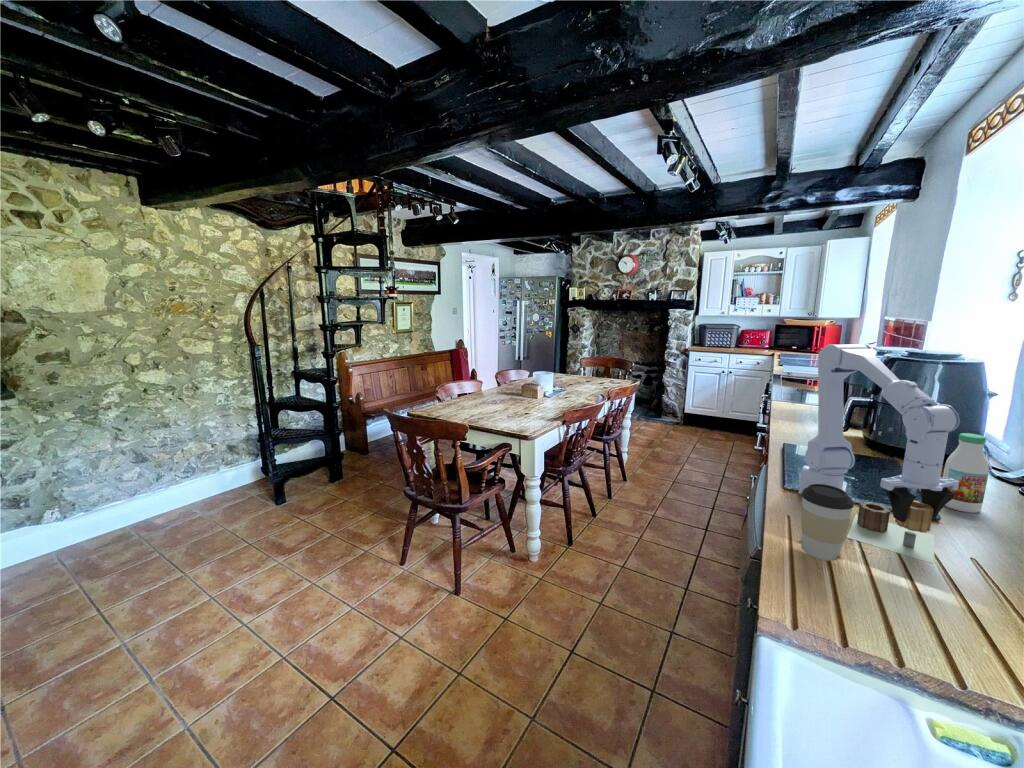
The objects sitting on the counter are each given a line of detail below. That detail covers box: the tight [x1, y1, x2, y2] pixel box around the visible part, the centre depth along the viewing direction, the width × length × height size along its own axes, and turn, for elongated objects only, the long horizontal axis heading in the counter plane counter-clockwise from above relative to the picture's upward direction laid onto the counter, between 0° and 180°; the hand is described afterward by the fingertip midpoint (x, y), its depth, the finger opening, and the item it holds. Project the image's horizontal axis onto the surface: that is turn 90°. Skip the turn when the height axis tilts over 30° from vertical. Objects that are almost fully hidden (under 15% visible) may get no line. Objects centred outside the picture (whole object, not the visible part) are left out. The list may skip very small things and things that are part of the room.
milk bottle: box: [942, 432, 990, 514], centre depth 106 cm, size 8×8×20 cm
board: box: [846, 513, 936, 565], centre depth 92 cm, size 14×15×4 cm
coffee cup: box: [800, 484, 855, 562], centre depth 88 cm, size 9×9×15 cm
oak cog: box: [894, 499, 934, 533], centre depth 87 cm, size 5×5×5 cm
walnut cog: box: [857, 501, 891, 533], centre depth 96 cm, size 5×5×5 cm
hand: (913, 519), depth 87 cm, fingers closed on oak cog, 5 cm apart
